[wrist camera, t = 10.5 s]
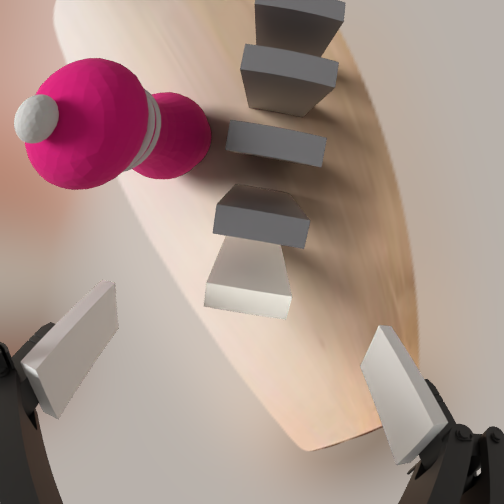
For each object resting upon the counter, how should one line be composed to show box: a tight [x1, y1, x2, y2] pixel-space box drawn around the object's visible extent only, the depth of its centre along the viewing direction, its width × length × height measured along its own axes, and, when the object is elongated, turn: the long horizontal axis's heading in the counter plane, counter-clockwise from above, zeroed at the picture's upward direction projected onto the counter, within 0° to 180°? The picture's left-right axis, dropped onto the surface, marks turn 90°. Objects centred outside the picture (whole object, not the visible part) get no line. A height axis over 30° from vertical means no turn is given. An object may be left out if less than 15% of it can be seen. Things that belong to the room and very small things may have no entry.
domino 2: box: [240, 44, 339, 117], centre depth 18 cm, size 2×5×12 cm, turn 81°
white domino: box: [204, 236, 292, 320], centre depth 22 cm, size 2×5×12 cm, turn 80°
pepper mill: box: [14, 58, 211, 190], centre depth 15 cm, size 7×7×20 cm
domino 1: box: [255, 0, 345, 57], centre depth 16 cm, size 2×5×12 cm, turn 81°
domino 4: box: [213, 184, 310, 249], centre depth 21 cm, size 2×5×12 cm, turn 81°
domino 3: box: [225, 120, 327, 167], centre depth 19 cm, size 2×5×12 cm, turn 80°
